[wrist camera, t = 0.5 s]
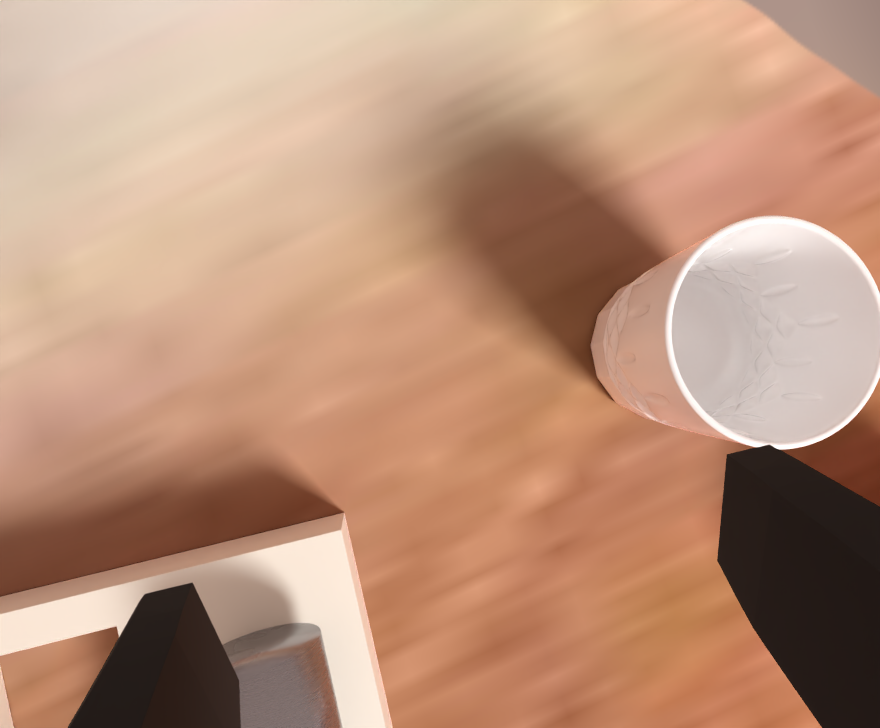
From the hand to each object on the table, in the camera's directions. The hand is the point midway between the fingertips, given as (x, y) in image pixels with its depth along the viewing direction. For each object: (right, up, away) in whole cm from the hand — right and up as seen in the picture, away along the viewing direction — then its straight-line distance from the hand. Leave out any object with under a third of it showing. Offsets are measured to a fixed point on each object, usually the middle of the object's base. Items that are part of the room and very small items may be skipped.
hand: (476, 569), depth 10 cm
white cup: (+10, +3, +25) cm, 27 cm away
